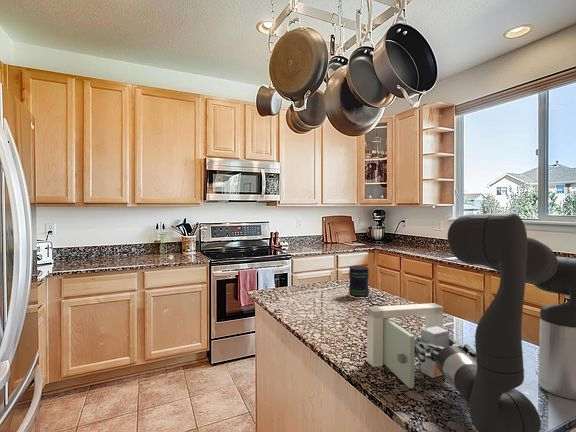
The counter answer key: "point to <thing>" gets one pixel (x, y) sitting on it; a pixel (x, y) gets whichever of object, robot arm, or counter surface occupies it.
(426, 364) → the skincare box
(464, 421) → the counter surface
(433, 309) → the door frame
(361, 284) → the storage jar
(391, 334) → the door
